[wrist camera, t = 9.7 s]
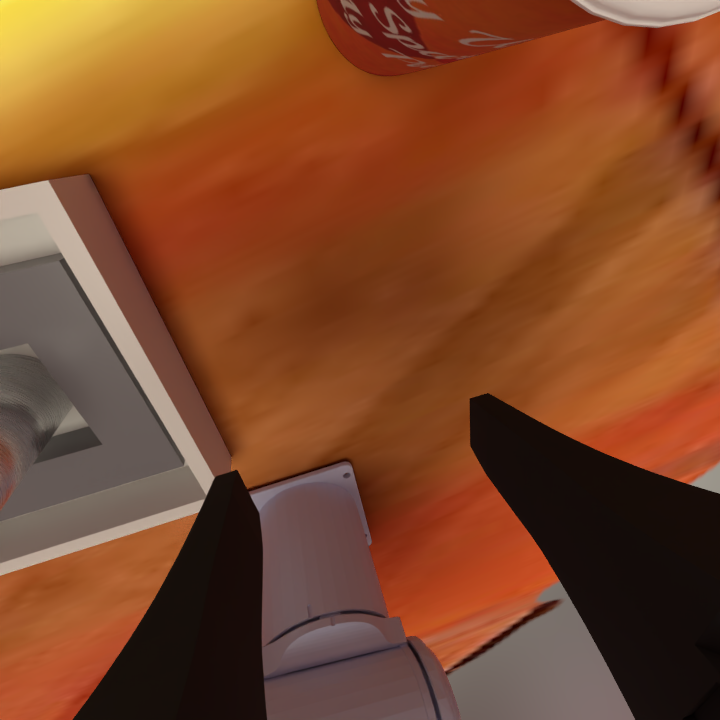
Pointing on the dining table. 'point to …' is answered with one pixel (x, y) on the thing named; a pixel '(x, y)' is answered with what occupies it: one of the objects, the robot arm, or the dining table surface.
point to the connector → (26, 416)
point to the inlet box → (95, 381)
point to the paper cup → (475, 26)
